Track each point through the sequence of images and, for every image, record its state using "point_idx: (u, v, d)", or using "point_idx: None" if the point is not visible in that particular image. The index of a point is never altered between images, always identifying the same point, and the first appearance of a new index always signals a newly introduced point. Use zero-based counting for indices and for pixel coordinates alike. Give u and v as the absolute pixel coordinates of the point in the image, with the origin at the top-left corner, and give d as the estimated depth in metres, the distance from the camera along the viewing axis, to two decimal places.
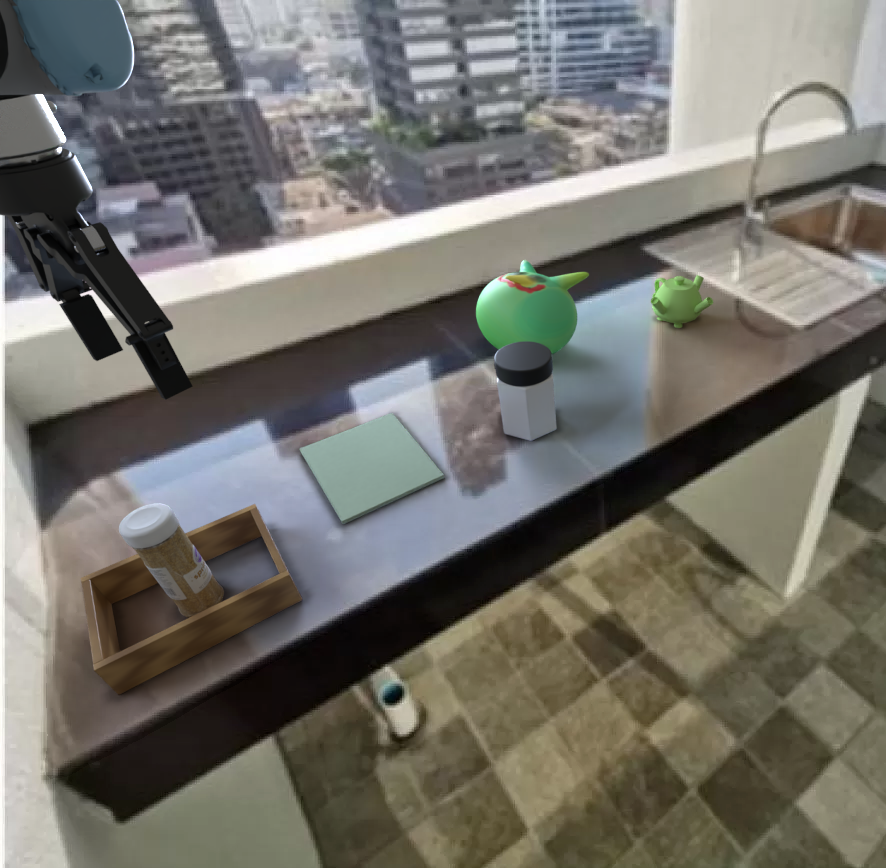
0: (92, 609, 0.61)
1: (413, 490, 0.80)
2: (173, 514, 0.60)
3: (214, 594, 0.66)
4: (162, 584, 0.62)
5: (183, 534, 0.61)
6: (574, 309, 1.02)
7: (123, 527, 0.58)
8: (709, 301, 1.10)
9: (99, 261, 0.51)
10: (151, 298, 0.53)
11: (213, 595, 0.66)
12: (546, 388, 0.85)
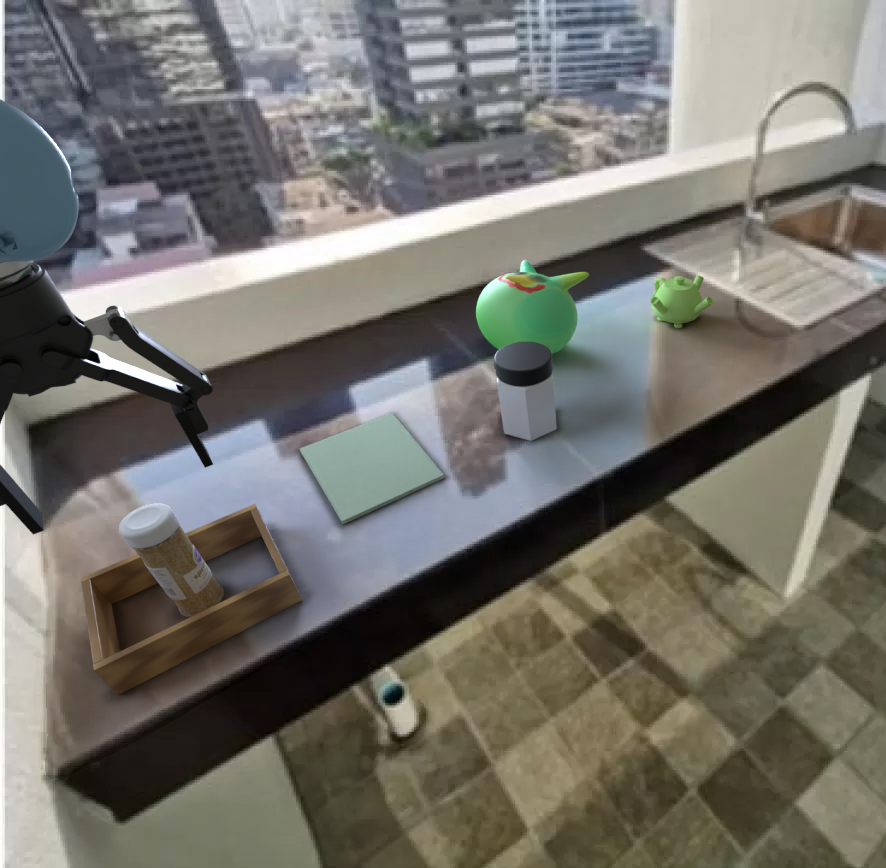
0: (92, 609, 0.61)
1: (413, 490, 0.80)
2: (173, 514, 0.60)
3: (214, 594, 0.66)
4: (162, 584, 0.62)
5: (183, 534, 0.61)
6: (574, 309, 1.02)
7: (123, 527, 0.58)
8: (709, 302, 1.10)
9: (143, 338, 0.51)
10: (182, 359, 0.55)
11: (213, 595, 0.66)
12: (546, 388, 0.85)
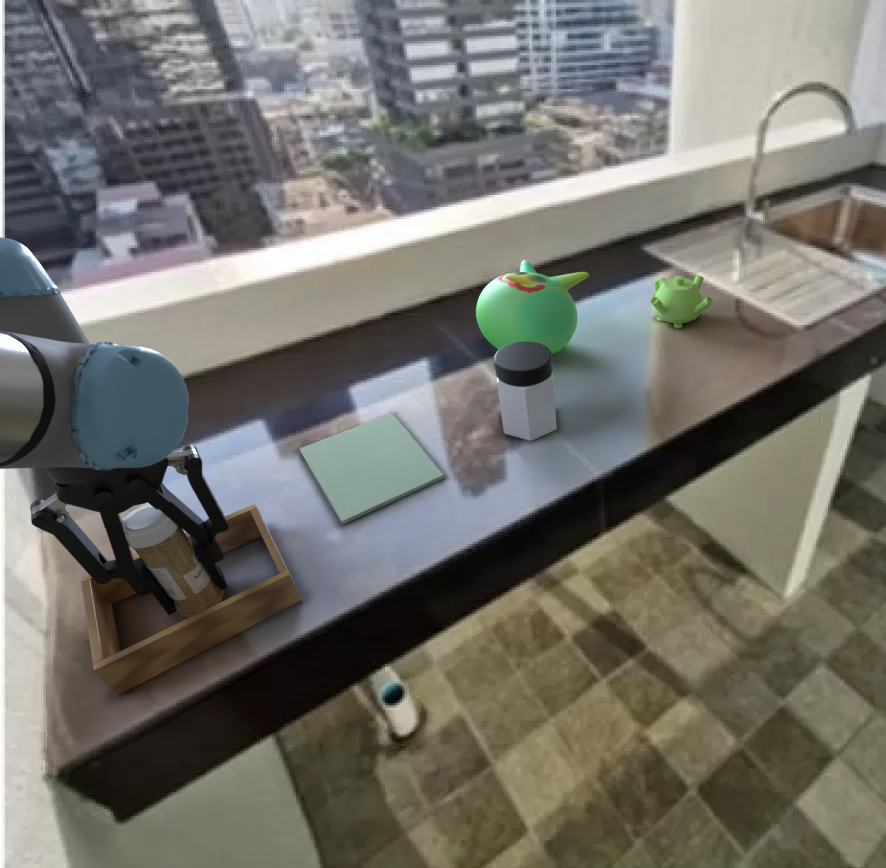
0: (92, 609, 0.61)
1: (413, 490, 0.80)
2: None
3: (214, 594, 0.66)
4: (162, 584, 0.62)
5: (183, 534, 0.61)
6: (574, 309, 1.02)
7: (123, 527, 0.58)
8: (709, 301, 1.10)
9: (202, 476, 0.60)
10: (214, 497, 0.63)
11: (213, 595, 0.66)
12: (546, 388, 0.85)
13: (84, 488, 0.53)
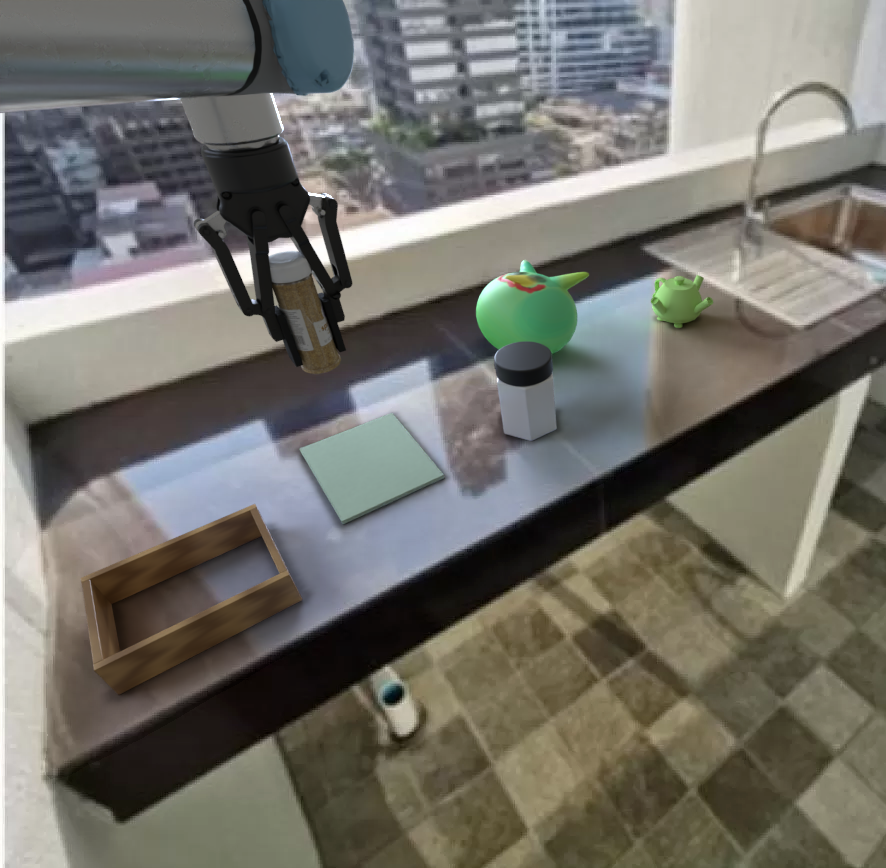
0: (92, 609, 0.61)
1: (413, 490, 0.80)
2: None
3: (334, 354, 0.71)
4: (294, 330, 0.67)
5: None
6: (574, 309, 1.02)
7: None
8: (709, 301, 1.10)
9: None
10: None
11: (334, 355, 0.71)
12: (546, 388, 0.85)
13: (243, 206, 0.58)
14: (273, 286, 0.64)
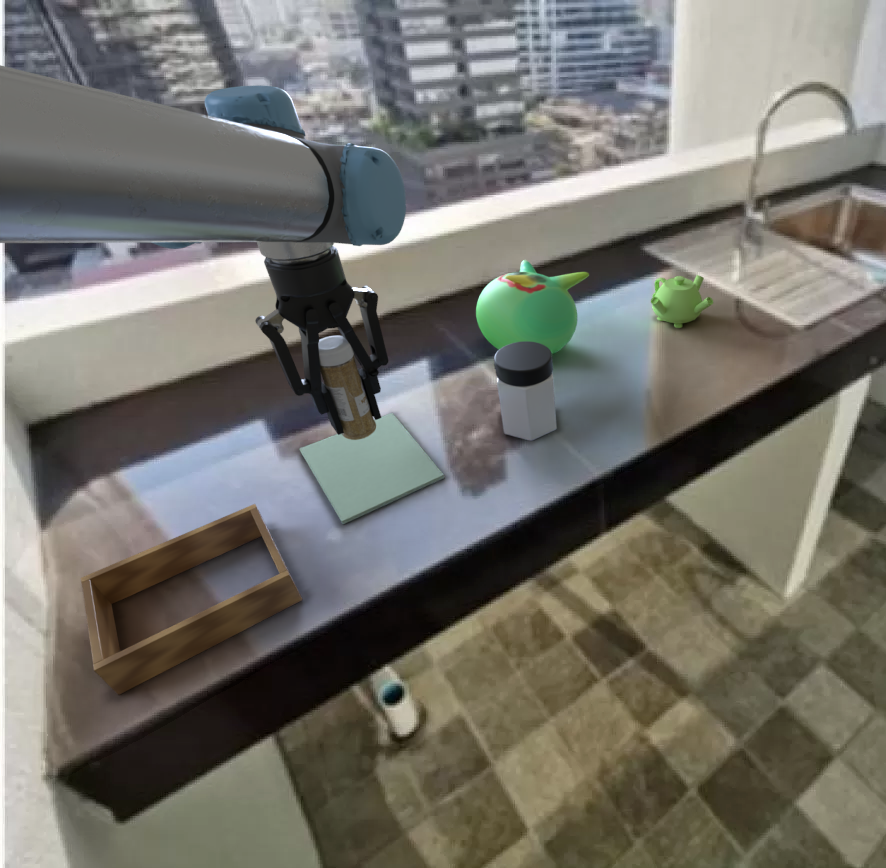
0: (92, 609, 0.61)
1: (413, 490, 0.80)
2: None
3: (371, 421, 0.80)
4: (337, 404, 0.76)
5: (355, 363, 0.75)
6: (574, 309, 1.02)
7: None
8: (709, 302, 1.10)
9: None
10: None
11: (371, 422, 0.80)
12: (546, 388, 0.85)
13: (298, 305, 0.67)
14: (320, 368, 0.73)
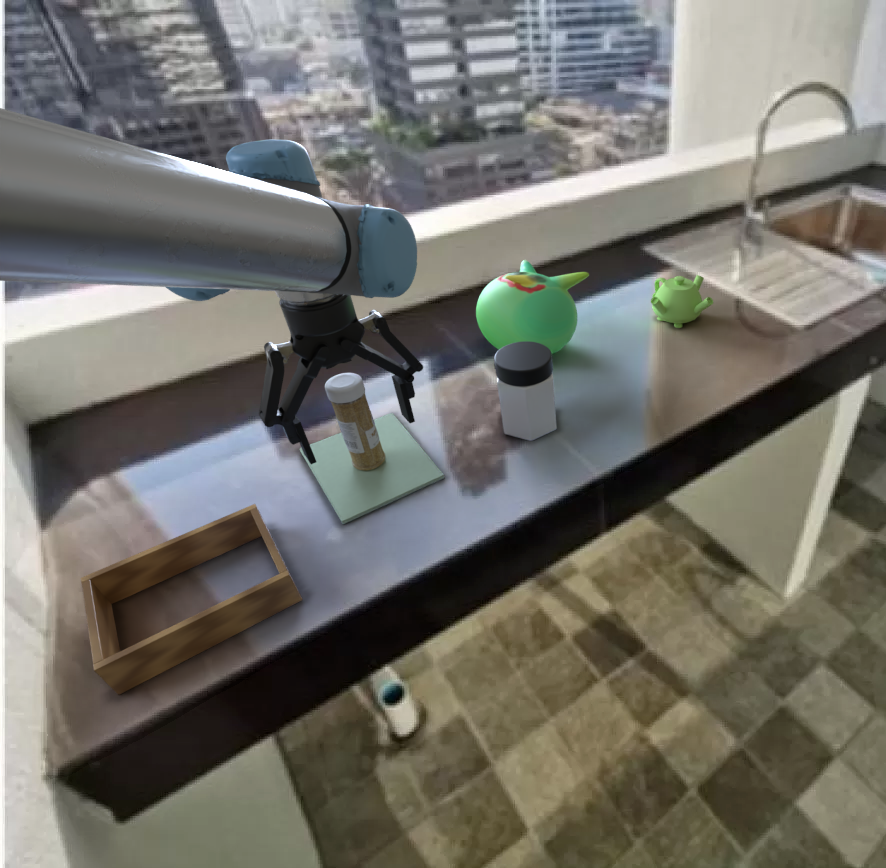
0: (92, 609, 0.61)
1: (413, 490, 0.80)
2: (362, 380, 0.77)
3: (381, 453, 0.83)
4: (349, 438, 0.79)
5: None
6: (574, 309, 1.02)
7: (329, 386, 0.75)
8: (709, 302, 1.10)
9: None
10: None
11: (380, 453, 0.83)
12: (546, 388, 0.85)
13: (313, 346, 0.70)
14: (333, 404, 0.76)
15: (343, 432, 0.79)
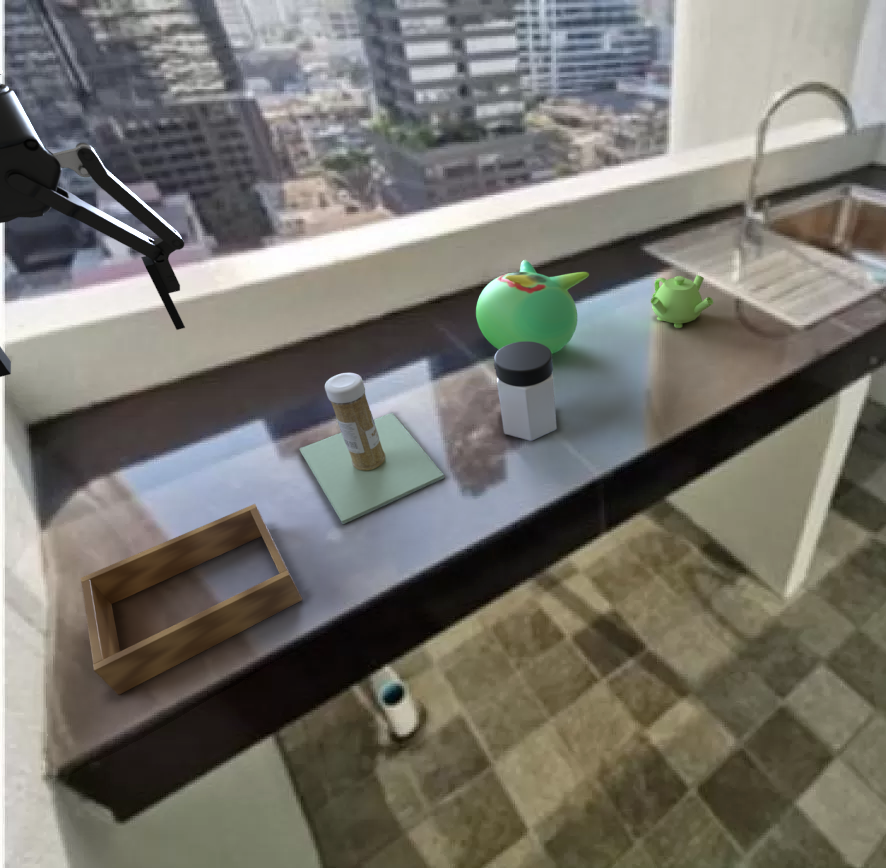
0: (92, 609, 0.61)
1: (413, 490, 0.80)
2: (362, 380, 0.77)
3: (381, 453, 0.83)
4: (349, 438, 0.79)
5: None
6: (574, 309, 1.02)
7: (329, 386, 0.75)
8: (709, 302, 1.10)
9: (112, 177, 0.51)
10: None
11: (380, 453, 0.83)
12: (546, 388, 0.85)
13: None
14: (333, 404, 0.76)
15: (343, 432, 0.79)
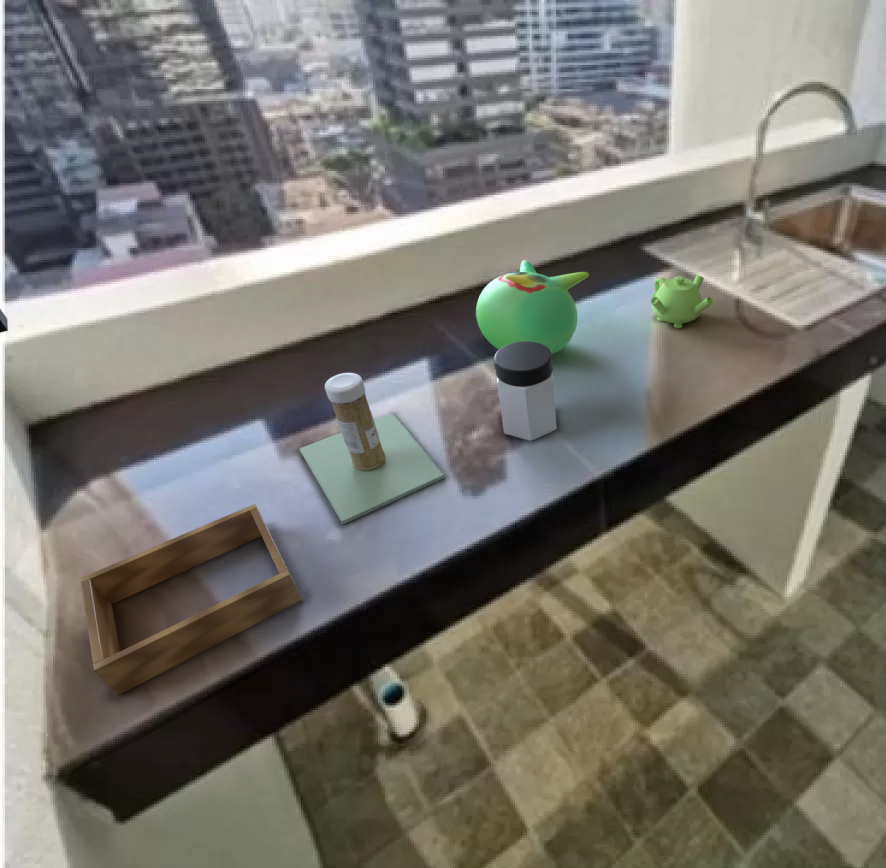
0: (92, 609, 0.61)
1: (413, 490, 0.80)
2: (362, 380, 0.77)
3: (381, 453, 0.83)
4: (349, 438, 0.79)
5: None
6: (574, 309, 1.02)
7: (329, 386, 0.75)
8: (709, 301, 1.10)
9: None
10: None
11: (380, 453, 0.83)
12: (546, 388, 0.85)
13: None
14: (333, 404, 0.76)
15: (343, 432, 0.79)
